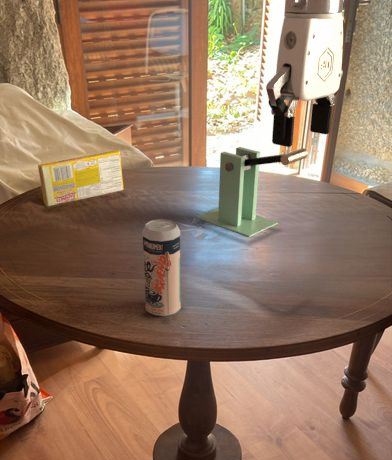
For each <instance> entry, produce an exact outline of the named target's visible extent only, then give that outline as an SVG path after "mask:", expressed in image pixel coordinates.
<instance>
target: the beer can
mask: <svg viewBox="0 0 392 460" xmlns="http://www.w3.org/2000/svg"><path fill="white" fill-rule="evenodd" d="M181 234H182V233H181V230H180V228H179V226H178V225H177V222H176V221H175V222H174V221H173V220H171V219H162V218H161V219H160V218H159V219H152V220H150V221H148V222H146V223H145V225H144V227H143V229H142V231H141V236H142V249H143V251H142V252H143V271H144V273H143V274H144V292H145V307H144V308H145V310H146V311H147V312H148V313H150V314H151V315H154V316H157V317H170V316H172V315H174V314H176V313H179V311H180V310H181V308H182V304H181Z"/></svg>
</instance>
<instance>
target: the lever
mask: <svg viewBox="0 0 392 460" xmlns="http://www.w3.org/2000/svg"><path fill="white" fill-rule="evenodd" d="M308 155H309V153H308V150H307V149H306V148H304V147H301V148H299V149H296V150H293V151H289V152H288V153H283V154H275V155H266V156H260V157H258V158H250V156H249V154H244V155H239V156H243V157H245V164H244V171H246V170H249V169H251V166H252V165H259V166H260V165H268V164H275V163H281V164H282V165H283V166H288V165H291V164H294V163H296V162H299V161H302V160H304V159H307V157H308Z"/></svg>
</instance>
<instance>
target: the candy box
mask: <svg viewBox="0 0 392 460" xmlns="http://www.w3.org/2000/svg"><path fill="white" fill-rule="evenodd" d="M37 170H38V174H39V175H38V176H39V182H40V186H41V193H42V199H43V204H44V205H45V206H47V207H51V206H56V205H61V204H65V203H69V202H74V201H78V200H83V199H87V198H92V197H97V196H103V195H106V194H111V193H117V192H121V191H124V181H123V170H122V158H121V151H119V150H117V149H115V150H110V151H105V152H100V153H94V154H90V155H85V156H79V157H73V158H68V159H63V160H57V161H52V162H47V163H41V164H37ZM47 207H44V209H45V210H47V211H48V212H50V211H51V209H49V208H47Z"/></svg>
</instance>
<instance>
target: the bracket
mask: <svg viewBox="0 0 392 460" xmlns="http://www.w3.org/2000/svg"><path fill="white" fill-rule="evenodd" d="M244 154H249V156H250V158H258V157H261V152H260V151H258V150H254V149H250V148H246V147H242V146H238V147H236V148H235V154H234V153H230V152H228V151H222V152H220V155H219V156H220V161H219V164H220V165H219V186H218V187H219V189H218V207H217V208H215V209H213V210H210V211H207V212H204V213H202V214H199V215H197V216H196V219H199V220H201V221H204V222H207V223H210V224H212V225H215V226H218V227H220V228H223V229H226V230H229V231H231V232H234V233H237V234H240V235H243V236H245V237H248V238H250V237H253V236H255V235H257V234H259V233H261V232H263V231H265V230H267V229H268V230H269V229H270V228H272V227H274V226H276V225H278V223H279V222H277V221H274V220H272V219H268V218H265V217H262V216H259V215H257V214H256V213H257V204H258V203H257V201H258V191H259V190H258V187H259V174H260V165H252V166H251V169H249V170H246V171H244V164H245V157H243V156H239V155H244Z"/></svg>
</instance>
